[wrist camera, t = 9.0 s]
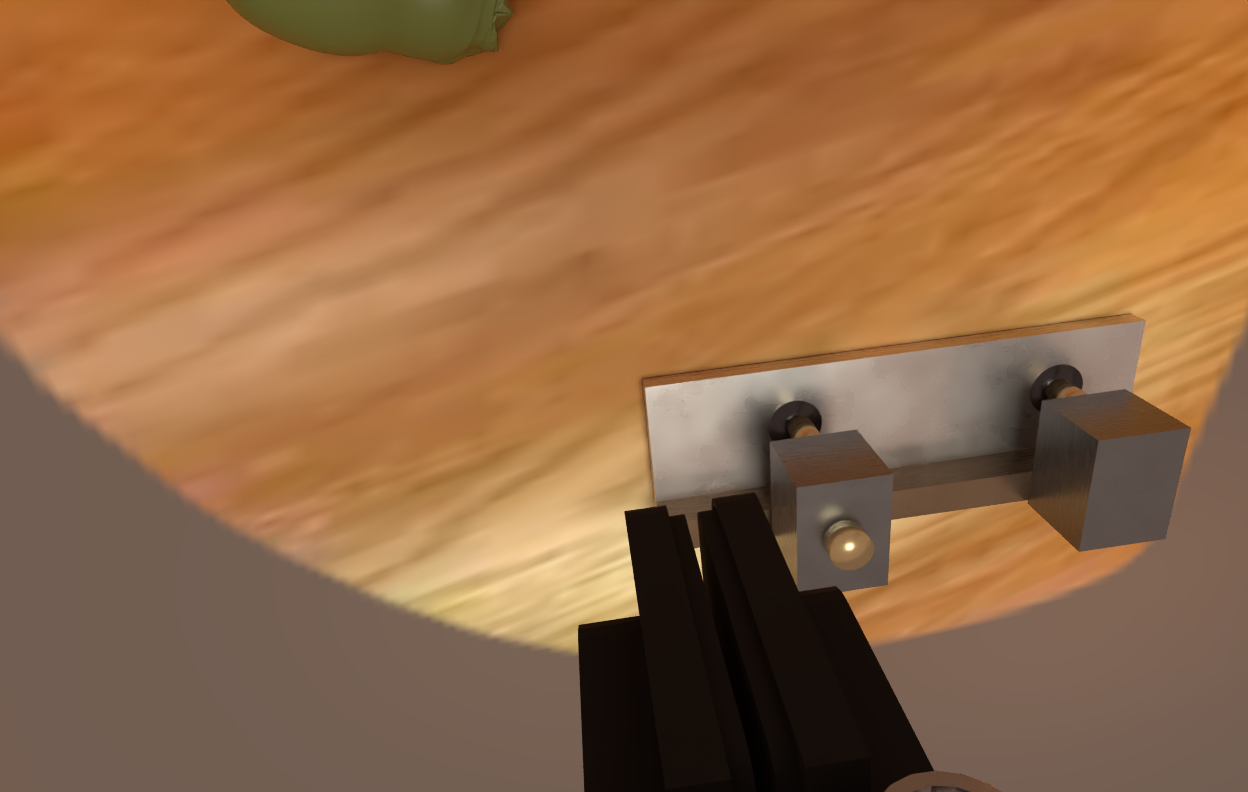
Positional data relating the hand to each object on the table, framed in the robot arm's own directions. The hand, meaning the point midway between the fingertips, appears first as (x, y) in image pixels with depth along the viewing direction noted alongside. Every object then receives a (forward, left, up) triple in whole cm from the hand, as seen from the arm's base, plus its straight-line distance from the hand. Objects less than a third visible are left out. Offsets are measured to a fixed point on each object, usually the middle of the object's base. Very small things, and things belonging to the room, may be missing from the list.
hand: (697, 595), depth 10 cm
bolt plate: (-14, +12, -26) cm, 31 cm away
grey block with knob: (-9, +13, -24) cm, 29 cm away
